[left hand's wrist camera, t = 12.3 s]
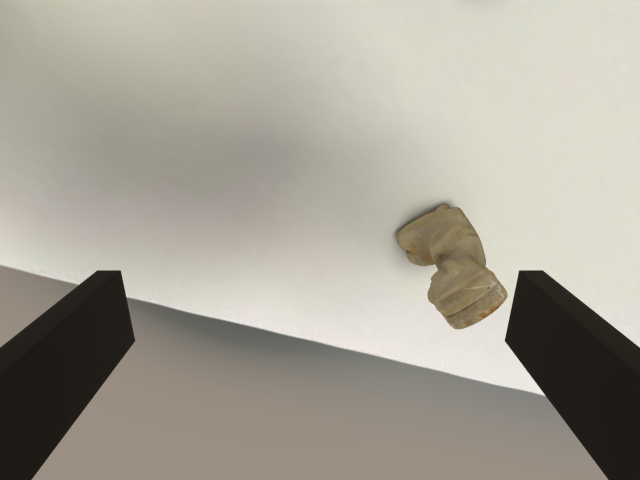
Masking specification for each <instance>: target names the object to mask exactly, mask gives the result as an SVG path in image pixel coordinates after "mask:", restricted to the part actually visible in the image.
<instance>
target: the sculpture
mask: <svg viewBox="0 0 640 480" xmlns="http://www.w3.org/2000/svg"><path fill="white" fill-rule="evenodd" d="M397 241H398V244H399V246H400V247H401V248H402V249H404V250H408V254H407V258H408V259H409V260H410V262H412V263H413V264H416V265H420V266H428V265H433V264H436V266H437V268H438V271H437V272H436V273H435V274H434V275H433V276H432V277H431V281H432V282H431V286H430V288H429V290H428V300H429V301H430V302H431V303H432V304H434V305H435V307H436V309H437V310H438V311H439V312H440V313H441V314H442V315H443V316H444V318H445V319H446V321H447V322H448V323H449V324H450V325H451V326H452V327H453V328H454V329H463V328H466V327H469V326H471V325H473V324H476V323H478V322H479V321H481V320H482V319H484V318H486V317H487V316H489V315H490V314H492V313H493V312H494V311H496V310H497V309H498V308H499V307H500V306H501V304H502V303H503V302H504V301H505V300H506V298H507V291H506V290H505V288H504V287H503V286H502V284H501V283H500V282H499V281H498V279H497V278H496V276H495V274H494V273H493V272H492V271H490V270H488V268H486V267H485V266H486V259H485V255H484V250H483V247H482V244H481V241H480V238H479V236H478V234H477V232H476V231H475V229H474V228H473V226H472V225H471V223H470V222H469V220H468V219H467V217H466V216H465V215H464V213H463V212H462V210H461V209H460V208H458V207H454V208H449V207H448V206H447V205H446V204H442V205H440V206H438V207H437V208H436V210H435V211H433V212H431V213H428V214H426V215H424V216H422V217H420V218H418V219H416V220H415V221H413V222H411V223H410V224H408V225H407V226H405V227H404V228H403V229H401V230H400V232H399V233H398V235H397Z"/></svg>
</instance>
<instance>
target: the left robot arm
mask: <svg viewBox="0 0 640 480" xmlns="http://www.w3.org/2000/svg"><path fill="white" fill-rule="evenodd" d="M134 342H135V338H134V333H133V328H132V323H131V318H130V314H129V309H128V304H127V299H126V294H125V289H124V284H123V280H122V275H121V271H96V272H95V273H94V274H92V275H91V276H90V277H89V278H87V279H86V280H85V281H84V282H82V283H81V284H80V285H79V286H77V287H76V288H75V289H74V290H72V291H71V292H70V293H69V294H67V295H66V296H65V297H63V298H62V299H61V300H60V301H58V302H57V303H56V304H55V305H53V306H52V307H51V308H50V309H48V310H47V311H46V312H45V313H43V314H42V315H41V316H40V317H38V318H37V319H36V320H35V321H33V322H32V323H31V324H30V325H28V326H27V327H26V328H25V329H23V330H22V331H21V332H19V333H18V334H17V335H16V336H14V337H13V338H12V339H11V340H10V341H8V342H7V343H6V344H4V345H3V346H2V347H1V348H0V480H31V479H32V478H33V477H34V475H35V474H36V473H37V471H38V470H39V469H40V467H41V466H42V465H43V463H44V462H45V461H46V459H47V458H48V457H49V455H50V454H51V453H52V451H53V450H54V449H55V447H56V446H57V445H58V443H59V442H60V441H61V439H62V438H63V437H64V435H65V434H66V433H67V431H68V430H69V429H70V427H71V426H72V425H73V423H74V422H75V421H76V419H77V418H78V417H79V415H80V414H81V413H82V411H83V410H84V409H85V407H86V406H87V405H88V403H89V402H90V401H91V399H92V398H93V397H94V395H95V394H96V393H97V391H98V390H99V389H100V387H101V386H102V384H103V383H104V382H105V381H106V379H107V378H108V376H109V375H110V374H111V372H112V371H113V370H114V368H115V367H116V366H117V364H118V363H119V362H120V360H121V359H122V358H123V356H124V355H125V354H126V352H127V351H128V350H129V348H130V347H131V346H132V344H133V343H134ZM505 342H506V343H507V344H508V346H509V347H510V348H511V350H512V351H513V352H514V354H515V355H516V356H517V358H518V359H519V360H520V362H521V363H522V364H523V366H524V367H525V368H526V370H527V371H528V372H529V374H530V375H531V376H532V378H533V379H534V381H535V382H536V383H537V385H538V386H539V387H540V389H541V390H542V391H543V393H544V394H545V395H546V397H547V398H548V399H549V401H550V402H551V403H552V405H553V406H554V407H555V409H556V410H557V411H558V413H559V414H560V415H561V416H562V418H563V419H564V421H565V422H566V423H567V425H568V426H569V427H570V429H571V430H572V431H573V433H574V434H575V435H576V437H577V438H578V439H579V441H580V442H581V443H582V445H583V446H584V447H585V449H586V450H587V451H588V453H589V454H590V455H591V457H592V458H593V459H594V461H595V462H596V463H597V465H598V466H599V467H600V469H601V470H602V471H603V473H604V474H605V475H606V477H607V478H608V480H640V348H639V347H638V346H637V345H636V344H634V343H633V342H632V341H631V340H629V339H628V338H627V337H626V336H624V335H623V334H622V333H621V332H619V331H618V330H617V329H615V328H614V327H613V326H612V325H610V324H609V323H608V322H607V321H605V320H604V319H603V318H602V317H600V316H599V315H598V314H597V313H595V312H594V311H593V310H592V309H590V308H589V307H588V306H587V305H585V304H584V303H583V302H582V301H580V300H579V299H578V298H577V297H575V296H574V295H573V294H571V293H570V292H569V291H568V290H566V289H565V288H564V287H563V286H561V285H560V284H559V283H558V282H556V281H555V280H554V279H553V278H551V277H550V276H549V275H548V274H546V273H545V272H544V271H519V275H518V280H517V284H516V289H515V294H514V299H513V304H512V309H511V313H510V318H509V323H508V328H507V333H506V338H505Z"/></svg>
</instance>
